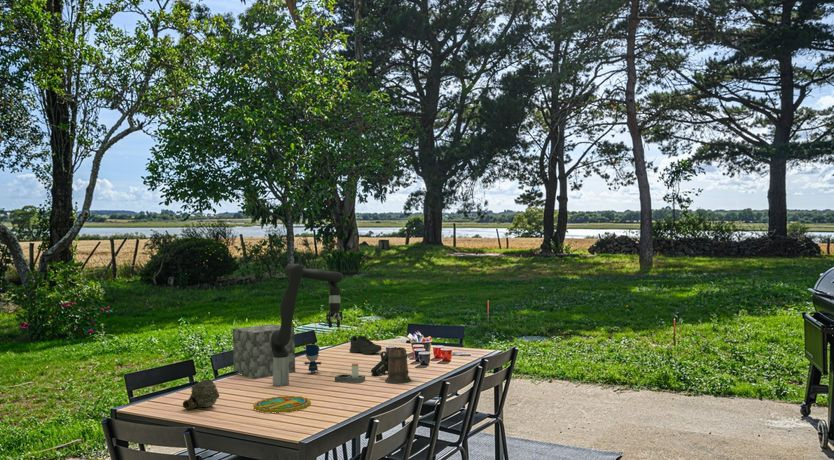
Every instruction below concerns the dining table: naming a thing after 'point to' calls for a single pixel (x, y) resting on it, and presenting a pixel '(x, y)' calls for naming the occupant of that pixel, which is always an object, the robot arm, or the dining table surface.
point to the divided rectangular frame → (349, 379)
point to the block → (258, 351)
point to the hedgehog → (202, 395)
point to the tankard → (395, 366)
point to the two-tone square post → (355, 370)
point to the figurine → (312, 357)
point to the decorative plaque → (282, 404)
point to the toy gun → (380, 365)
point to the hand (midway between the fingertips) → (334, 327)
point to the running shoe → (363, 345)
